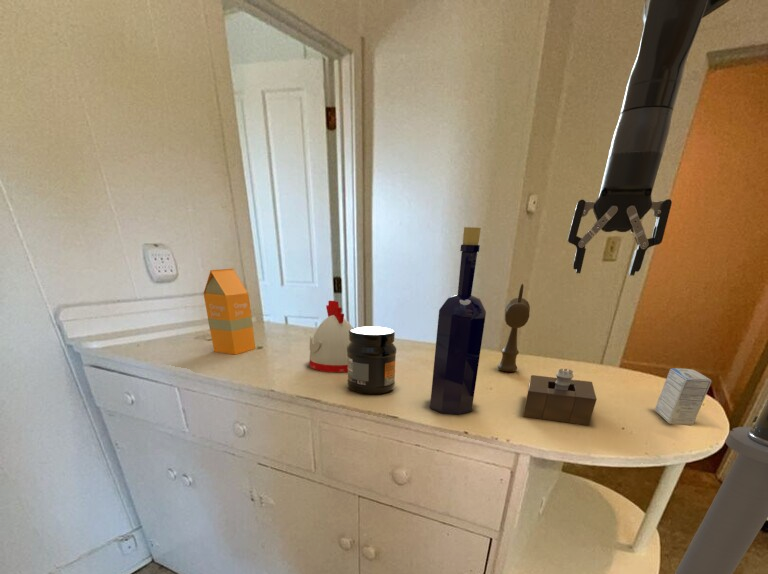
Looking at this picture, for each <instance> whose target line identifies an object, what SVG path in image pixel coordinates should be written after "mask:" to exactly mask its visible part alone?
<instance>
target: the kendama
mask: <svg viewBox="0 0 768 574" xmlns="http://www.w3.org/2000/svg"><path fill="white" fill-rule="evenodd" d="M523 294H524V283H521V285H520V287H519V291H518V296H517V297H514V298H512V299H510V300H509V301H508V303H506V305H505V309H504V321H505V323H506V325H507V326H508V327H509V328H510V331H509V335H508V338H507V341H506V344H505V346H504V348H503V349H502V350H501V354H502V357H501V360H500V362H499V364H497V369H498V370H500V371H501V372H506V373H508V372H509V373H511V372H515V371H517V370H518V366H517V356H518V355H519V353H520V351H519V349H518V331H519V330H518V329H521V328H522V327H524V326H525V325H527V323H528V321H529V318H530V312H531V306H530V303H529V301H528V300H526V299H525V298H523Z"/></svg>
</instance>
